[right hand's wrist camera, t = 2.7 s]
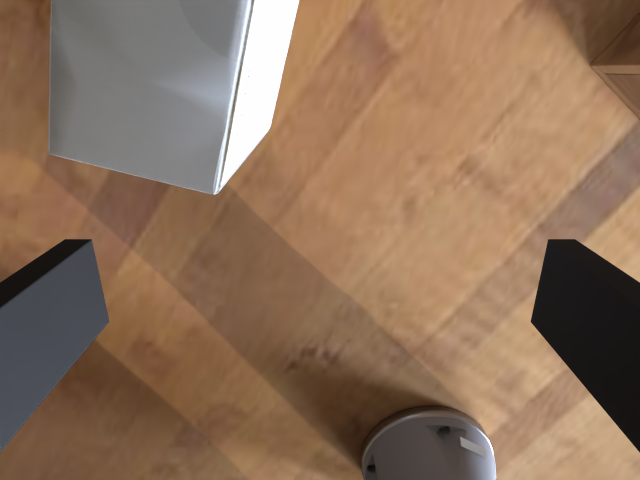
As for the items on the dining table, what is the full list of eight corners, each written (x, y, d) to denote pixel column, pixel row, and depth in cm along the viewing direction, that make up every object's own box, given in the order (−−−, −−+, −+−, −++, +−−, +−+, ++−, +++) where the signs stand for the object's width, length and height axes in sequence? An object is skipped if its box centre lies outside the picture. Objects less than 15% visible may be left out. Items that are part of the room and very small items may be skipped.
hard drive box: (213, -107, 31) (52, -372, 12) (316, -74, 31) (312, -277, 13) (183, 110, 36) (41, 155, 18) (271, 134, 37) (223, 200, 19)
